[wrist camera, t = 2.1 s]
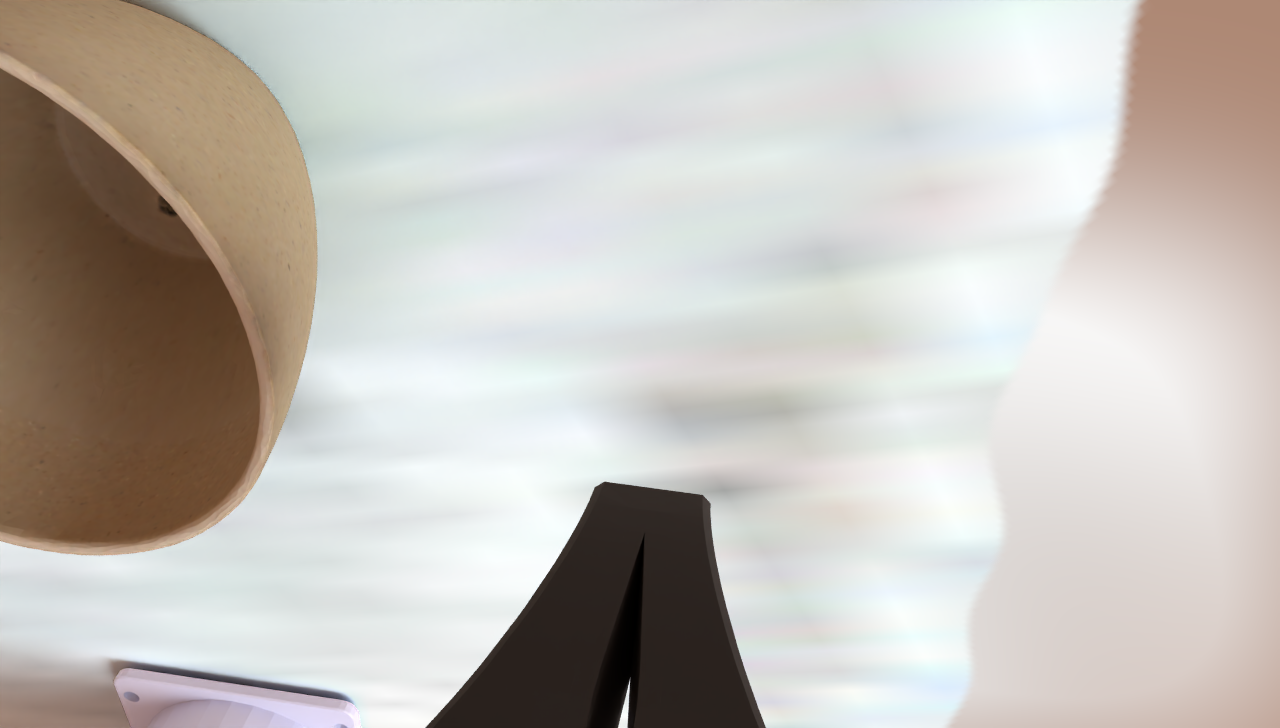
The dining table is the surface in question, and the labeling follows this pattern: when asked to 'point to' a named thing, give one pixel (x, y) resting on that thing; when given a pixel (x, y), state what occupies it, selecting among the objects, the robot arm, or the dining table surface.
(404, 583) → the dining table surface
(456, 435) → the dining table surface
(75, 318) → the flower pot
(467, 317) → the dining table surface
